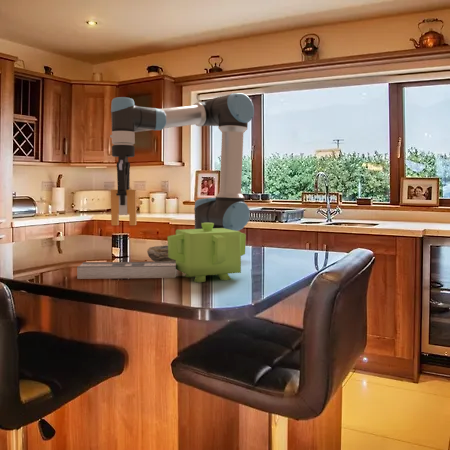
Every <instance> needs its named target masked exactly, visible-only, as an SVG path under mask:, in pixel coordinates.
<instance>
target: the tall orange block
mask: <svg viewBox="0 0 450 450" xmlns="http://www.w3.org/2000/svg"><path fill="white" fill-rule="evenodd" d="M117 191H118V189H110V204H111V205H110V208H111V209H110V212H111V213H110V216H111V219H110V220H111V223H110V224H111V226H119V225H120V215H119V196H120V195H116V193H118V192H117ZM126 193H127V194H126V195H125V196H127V215H129V216H128V217H129V218H128V219H129V220H128V221H129V224H128V225H129V226H136V225H137V223H138V222H137V189H130V190H126Z"/></svg>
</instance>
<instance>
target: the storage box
mask: <svg viewBox="0 0 450 450" xmlns="http://www.w3.org/2000/svg"><path fill="white" fill-rule="evenodd" d="M201 225H202V228H203V229H195V228H188V229H186V228H185V229H176V230H175V234H171V235H167V245H168V257H169V258H171V259H174V260H176V271H177V270H178V271H179V272H181V273H183V274H185V276H184V277H186V278H194V277H195V278H194V280H193V282H194V283H204V282H206V279H207V277H206V276H218V278H219V280H221V281H229V280H232V278H231V276H230V275H229V274H238V273H239V274H240V273H242V261H241V260H242V256H244V255H245V254H246V242H247V241H246V237H247V235H246V233H243V232H241V231H240V230H238V231H235V230H230V229H225V228H213V226H214V223H201Z"/></svg>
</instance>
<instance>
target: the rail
mask: <svg viewBox="0 0 450 450" xmlns="http://www.w3.org/2000/svg"><path fill="white" fill-rule="evenodd" d="M76 275H77V276H76V277H77V278H76V279H78V280H81V279H82V280H83V279H84V280H86V279H88V280H91V279H96V280H97V279H99V280H100V279H101V280H102V279H107V280H110V279H176V277H177V269H176V262H155V261H111V262H110V261H105V262H104V261H101V262H99V261H95V262H93V261H91V262H89V261H87V262H83V261H82V263H81V264H80V265H77V266H76Z"/></svg>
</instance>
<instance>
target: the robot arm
mask: <svg viewBox="0 0 450 450" xmlns="http://www.w3.org/2000/svg"><path fill="white" fill-rule="evenodd" d="M110 107H111V108H110V113H111V116H110V118H111V134H110V135H109V137H110V139H111V144H112V146H111V157H114V158H118V162H117V161H116V165H115V167H116V177H117V179H116V180H117V190H118V191H117V192H118V193H116V195H120V196H119V216H128V214H127V196H125V195H126V194H127V193H126V190H131V189H130V182H131V181H130V180H131V179H130V173H131V171H130V169H131V162H129V158H134V157H135V155H136V154H135V152H136V150H135V149H136V148H135V145H134V144H136V141H135V139H136V138H135V137H136V136H135V133H140V132H146V131H155V132H156V131H162V130H164V129H169V128H178V127H184V126H185V127H187V126H193V125H194V126H196V127H210V126H211V127H218V129H219V131H220V132H221V151H220V153H221V154H220V175H219V176H220V178H219V179H220V180H219V193H218V194H217V195H216V196H215V197H207V198H199V199H196V200H195V202H194V209H193V210H194V229H203V228H202V225H201V223H214V226H213V228H225V229H230V230H235V231H241V230H242V229H244V228H245V226H247V224H248V223H249V221H250V217H251V212H250V208H249V206H248V204H247V203H246V202H245V196H244V195H243V194H242V180H243V178H242V177H243V176H242V175H243V158H244V157H243V153H244V152H243V150H244V134H245V132H247V130H248V126H249V125H248V123H249V122H251V120H252V119H253V118H254V117H255V116H254V115H255V106H254V103H253V101H252V100H251V99H250V97H249V96H248V95H246V94H245V93H242V92H237V93H233V92H232V93H230V94H226V95H222V96H217V97H213V98H211V99H208V100H204V101H200V102H199V101H198V102H194V103H193V104H192V105H186V106H183V105H182V106H174V107H173V106H172V107H165V108H164V107H163V108H156V107H147V106H139V105H136V104H135V101H134V99H133V98H132V97H131V98H130V97H126V96H119V97H114V98H112V100H111V105H110Z"/></svg>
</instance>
